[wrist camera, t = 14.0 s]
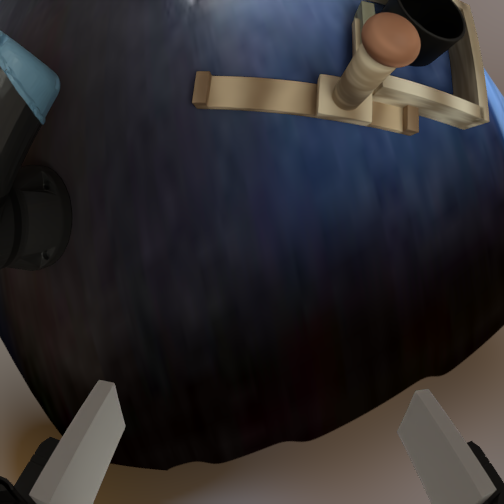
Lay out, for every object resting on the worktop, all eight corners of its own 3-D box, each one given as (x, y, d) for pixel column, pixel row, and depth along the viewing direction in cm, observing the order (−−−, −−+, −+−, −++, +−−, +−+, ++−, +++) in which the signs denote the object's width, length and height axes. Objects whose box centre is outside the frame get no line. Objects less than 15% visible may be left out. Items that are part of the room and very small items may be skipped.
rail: (197, 108, 33) (191, 102, 31) (201, 79, 33) (196, 71, 30) (409, 135, 32) (418, 132, 30) (410, 106, 32) (418, 101, 29)
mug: (345, 25, 30) (362, -12, 21) (407, 7, 29) (431, -24, 20) (387, 82, 31) (416, 54, 22) (446, 58, 30) (478, 34, 21)
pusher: (314, 119, 32) (357, 43, 14) (318, 10, 30) (344, -90, 11) (366, 128, 32) (449, 71, 14) (365, 19, 29) (414, -70, 11)
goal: (366, 102, 32) (382, 86, 26) (362, -8, 29) (373, -32, 23) (463, 129, 31) (489, 121, 25) (451, 21, 28) (469, 5, 22)
